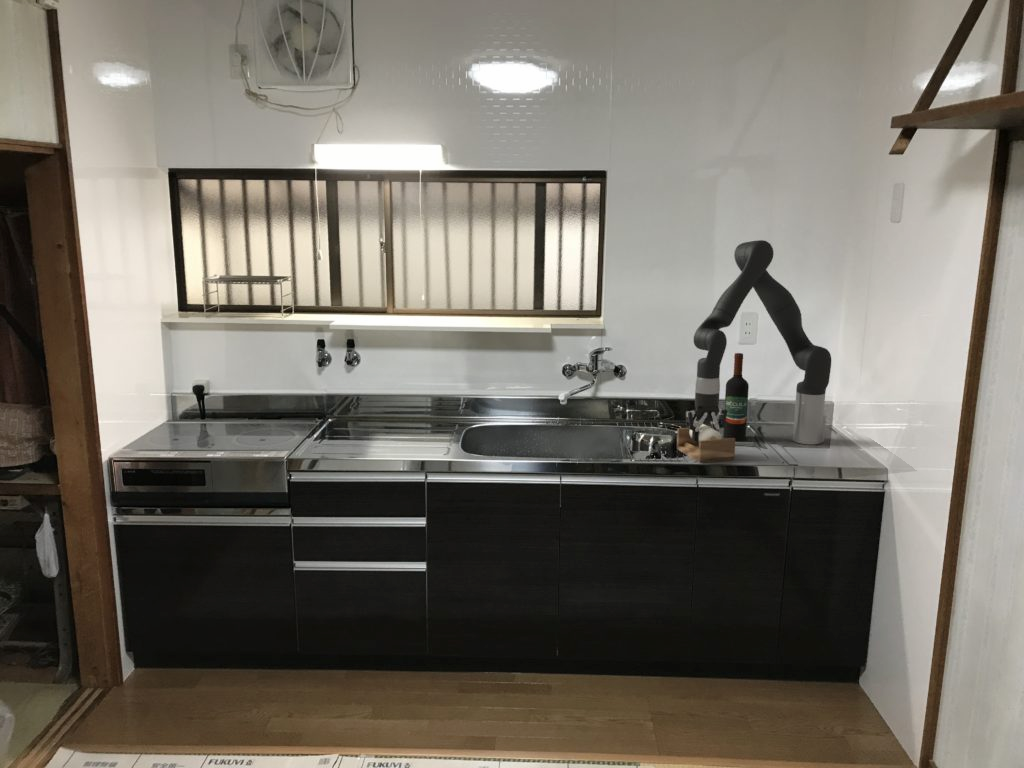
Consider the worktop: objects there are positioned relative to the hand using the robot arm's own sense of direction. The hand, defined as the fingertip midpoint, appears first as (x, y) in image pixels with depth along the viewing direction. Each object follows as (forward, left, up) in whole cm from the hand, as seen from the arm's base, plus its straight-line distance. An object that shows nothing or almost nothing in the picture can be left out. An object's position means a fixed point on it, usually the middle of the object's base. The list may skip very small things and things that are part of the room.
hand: (704, 441), depth 245 cm
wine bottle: (-19, -14, -5) cm, 24 cm away
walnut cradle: (0, 0, -4) cm, 4 cm away
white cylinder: (+2, 0, 0) cm, 2 cm away
